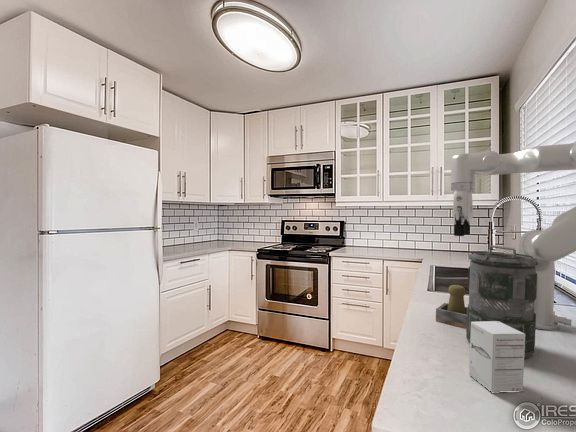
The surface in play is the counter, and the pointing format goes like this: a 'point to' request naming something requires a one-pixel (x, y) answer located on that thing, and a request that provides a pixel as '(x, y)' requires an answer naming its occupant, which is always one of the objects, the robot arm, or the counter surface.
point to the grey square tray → (451, 316)
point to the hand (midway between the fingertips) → (462, 235)
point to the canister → (503, 292)
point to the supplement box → (497, 356)
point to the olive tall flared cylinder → (456, 299)
